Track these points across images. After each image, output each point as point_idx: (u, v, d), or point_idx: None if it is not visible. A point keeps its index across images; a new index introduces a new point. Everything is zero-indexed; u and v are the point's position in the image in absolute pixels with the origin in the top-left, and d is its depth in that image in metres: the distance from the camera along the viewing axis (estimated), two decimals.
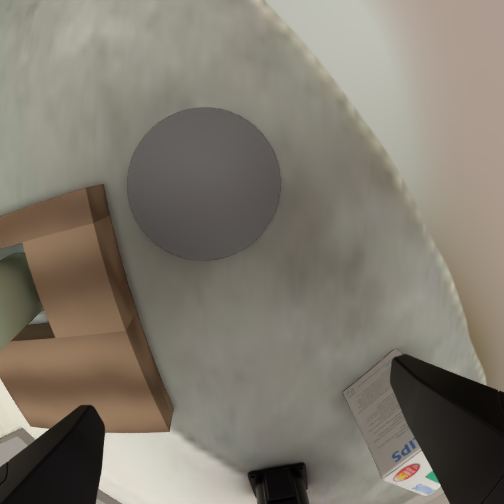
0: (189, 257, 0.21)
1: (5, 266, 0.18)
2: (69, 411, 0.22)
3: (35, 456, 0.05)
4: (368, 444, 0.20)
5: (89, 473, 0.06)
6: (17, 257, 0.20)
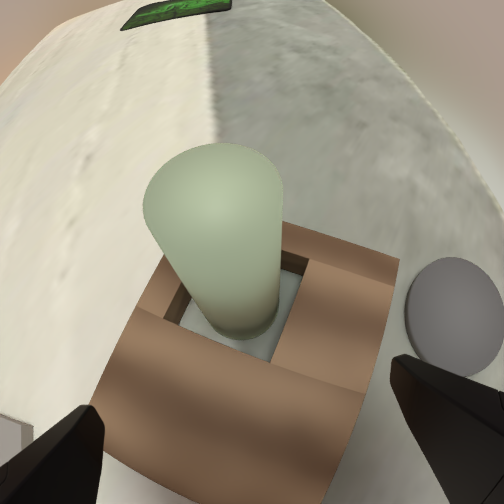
0: (435, 363, 0.19)
1: None
2: (180, 454, 0.16)
3: (35, 456, 0.05)
4: None
5: (89, 473, 0.06)
6: None
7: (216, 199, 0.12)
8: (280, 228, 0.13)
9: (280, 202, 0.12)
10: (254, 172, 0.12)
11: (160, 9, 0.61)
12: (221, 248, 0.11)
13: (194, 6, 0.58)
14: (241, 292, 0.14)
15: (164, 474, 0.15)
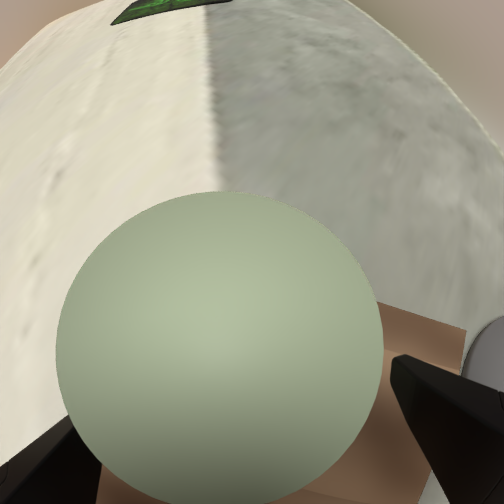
0: None
1: None
2: None
3: (35, 456, 0.05)
4: None
5: (89, 473, 0.06)
6: None
7: (218, 364, 0.04)
8: None
9: (379, 372, 0.04)
10: (312, 281, 0.05)
11: (155, 2, 0.54)
12: (239, 499, 0.03)
13: None
14: None
15: None
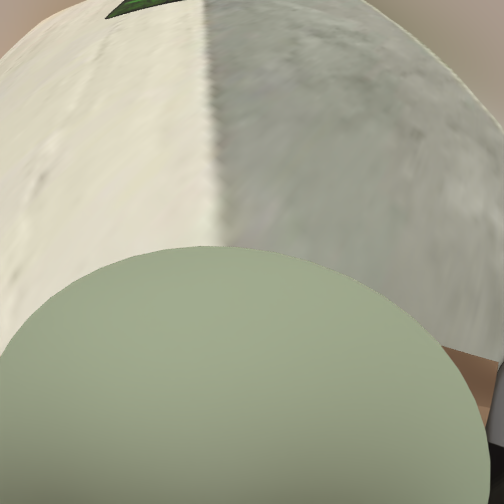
0: None
1: None
2: None
3: None
4: None
5: None
6: None
7: None
8: None
9: None
10: (398, 444, 0.02)
11: None
12: None
13: None
14: None
15: None
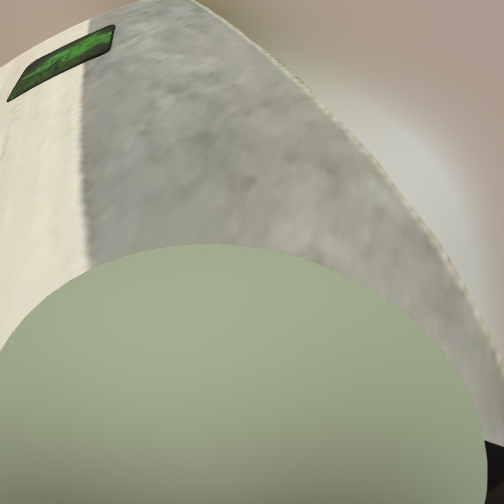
0: None
1: None
2: None
3: None
4: None
5: None
6: None
7: None
8: None
9: None
10: (394, 441, 0.02)
11: (44, 65, 0.53)
12: None
13: (75, 54, 0.51)
14: None
15: None
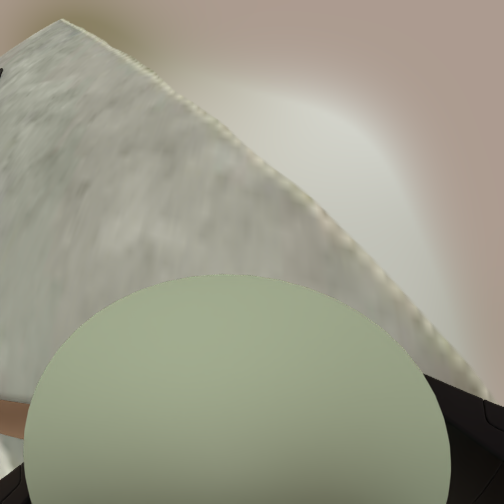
0: None
1: None
2: None
3: None
4: None
5: None
6: None
7: None
8: None
9: None
10: (371, 425, 0.03)
11: None
12: None
13: None
14: None
15: None
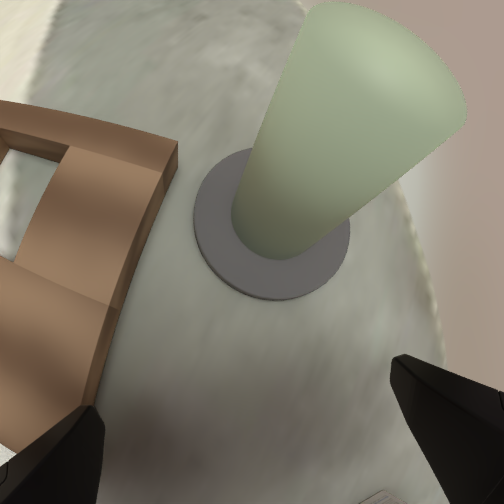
0: (227, 277, 0.18)
1: None
2: None
3: (35, 456, 0.05)
4: None
5: (89, 473, 0.06)
6: None
7: (401, 66, 0.07)
8: None
9: (465, 118, 0.07)
10: (441, 74, 0.07)
11: None
12: (406, 115, 0.06)
13: None
14: (345, 192, 0.10)
15: None
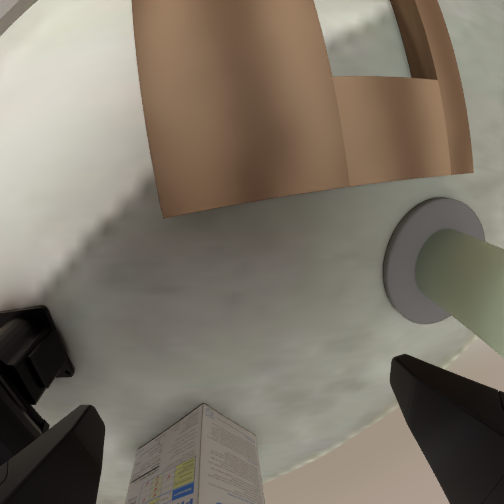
0: (394, 253, 0.20)
1: None
2: (184, 49, 0.14)
3: (35, 456, 0.05)
4: (201, 469, 0.17)
5: (89, 473, 0.06)
6: None
7: None
8: None
9: None
10: None
11: None
12: None
13: None
14: (495, 336, 0.12)
15: (151, 51, 0.14)
